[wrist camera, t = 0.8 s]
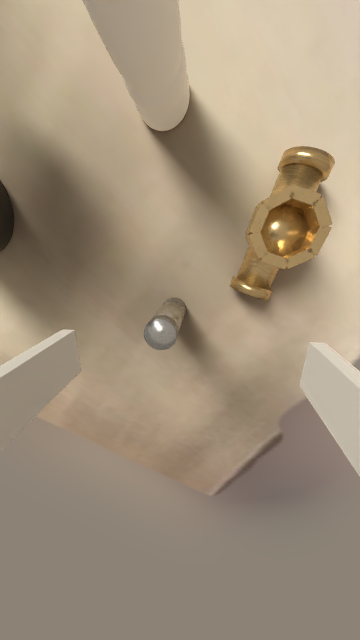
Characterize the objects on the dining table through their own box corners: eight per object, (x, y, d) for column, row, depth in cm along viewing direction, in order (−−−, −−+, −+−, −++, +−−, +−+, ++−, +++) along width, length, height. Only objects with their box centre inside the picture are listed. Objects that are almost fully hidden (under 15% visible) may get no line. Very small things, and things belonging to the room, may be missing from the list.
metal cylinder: (160, 315, 38) (140, 344, 27) (166, 294, 37) (148, 314, 26) (181, 323, 38) (170, 354, 27) (189, 302, 37) (180, 326, 26)
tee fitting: (269, 297, 35) (287, 311, 27) (221, 280, 35) (225, 290, 27) (326, 178, 29) (372, 151, 21) (269, 158, 29) (292, 124, 21)
